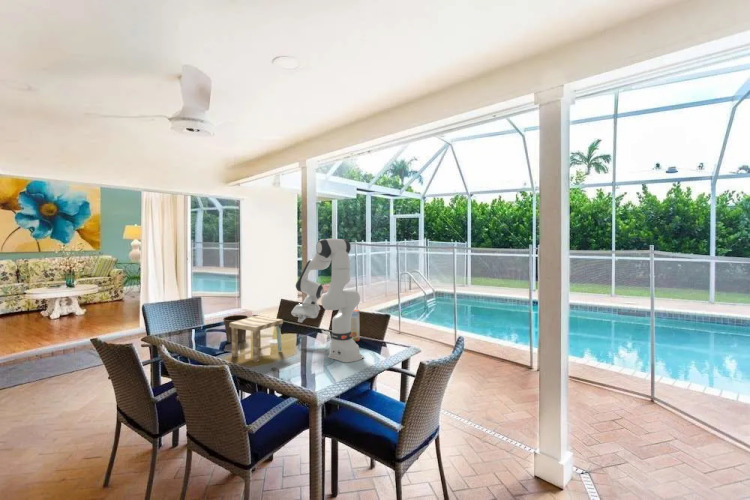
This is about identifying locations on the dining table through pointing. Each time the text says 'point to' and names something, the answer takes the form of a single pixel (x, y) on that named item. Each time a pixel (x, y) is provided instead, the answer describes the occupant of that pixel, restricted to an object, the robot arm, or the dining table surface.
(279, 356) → the dining table surface
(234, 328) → the stool
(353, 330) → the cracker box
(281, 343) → the folding leg
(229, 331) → the plant pot
